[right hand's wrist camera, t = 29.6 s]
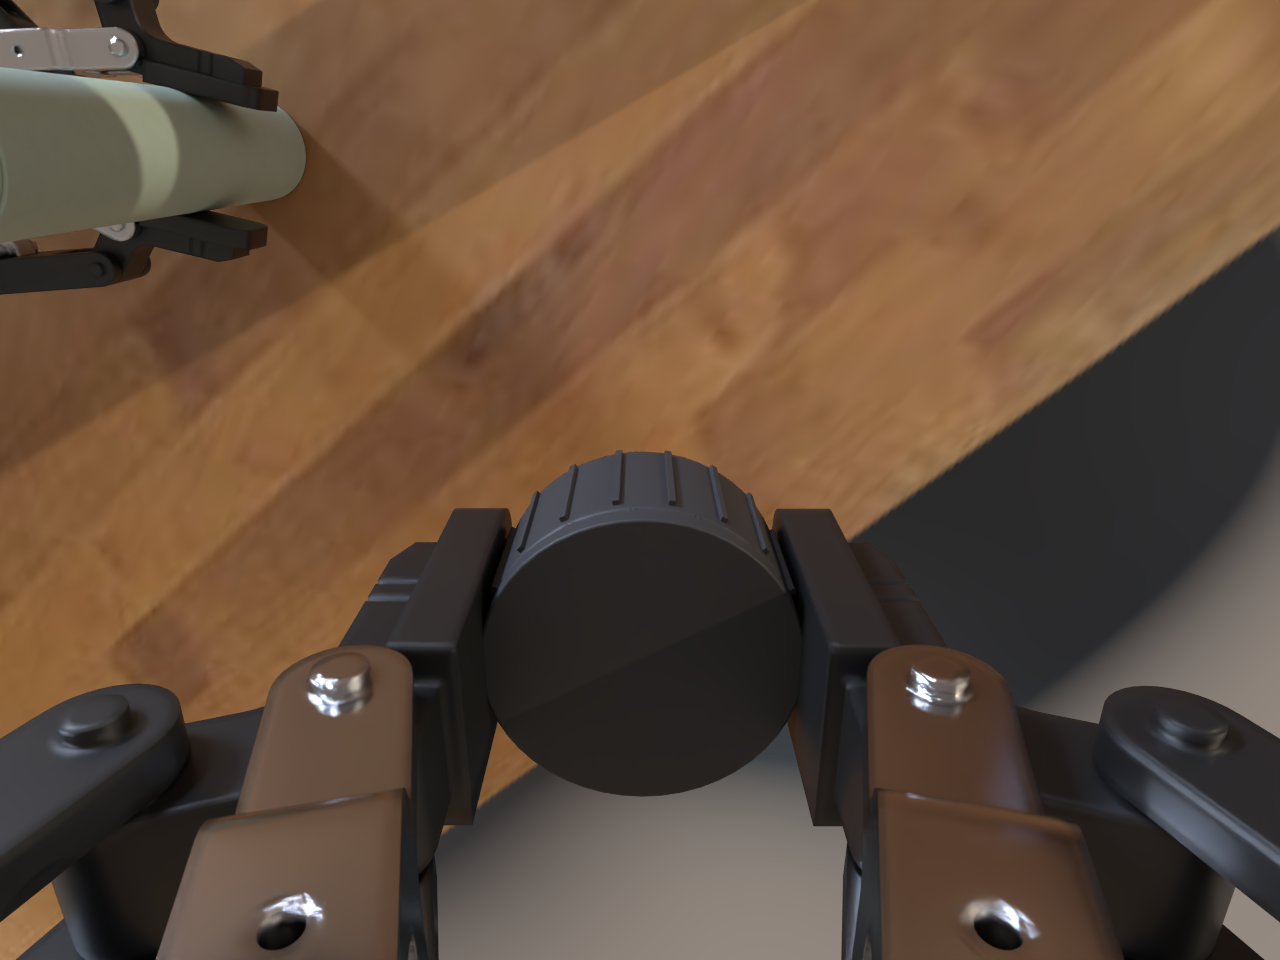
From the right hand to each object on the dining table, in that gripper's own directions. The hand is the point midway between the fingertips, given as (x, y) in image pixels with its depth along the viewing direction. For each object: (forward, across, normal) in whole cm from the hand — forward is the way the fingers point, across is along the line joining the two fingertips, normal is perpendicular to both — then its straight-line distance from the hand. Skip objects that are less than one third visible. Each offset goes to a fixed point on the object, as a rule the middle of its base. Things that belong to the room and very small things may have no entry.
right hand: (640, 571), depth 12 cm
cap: (-2, 0, 0) cm, 2 cm away
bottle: (+28, +16, -5) cm, 33 cm away
